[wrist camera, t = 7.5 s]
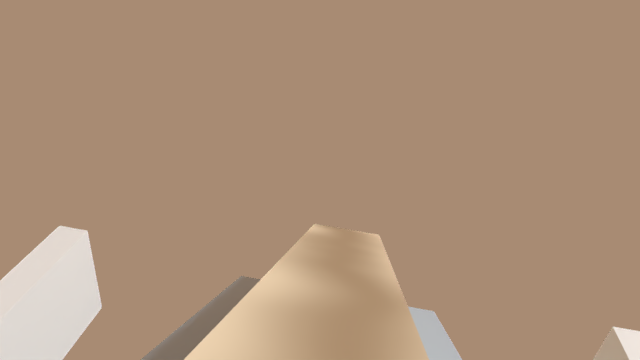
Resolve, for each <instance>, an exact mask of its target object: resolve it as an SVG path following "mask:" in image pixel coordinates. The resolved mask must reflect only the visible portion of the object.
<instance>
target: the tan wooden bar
mask: <svg viewBox="0 0 640 360" xmlns="http://www.w3.org/2000/svg"><path fill="white" fill-rule="evenodd" d="M184 360H429V358H428V356H427V353H426V351H425V348H424V346H423V343H422V341H421V338H420V336H419V333H418V331H417V328H416V326H415V323H414V321H413V318H412V316H411V313H410V311H409V308H408V306H407V303H406V301H405V298H404V296H403V293H402V291H401V289H400V286H399V283H398V281H397V278H396V276H395V274H394V271H393V269H392V266H391V263H390V261H389V258H388V256H387V253H386V251H385V249H384V246H383V244H382V241H381V239H380V236H379V235H377V234H371V233H365V232H360V231H354V230H348V229H342V228H336V227H330V226H325V225H319V224H314V225H313V226H312V227H311V228H310V229H309V230H308V231H307V232H306V233H305V234H304V235H303V236H302V237H301V238H300V240H298V242H297V243H296V244H295V245H294V246H293V247H292V248H291V249H290V250H289V251H288V252H287V253H286V254H285V255H284V256H283V257H282V258H281V259H280V260H279V261H278V262H277V263H276V264H275V265H274V266H273V267H272V268H271V269H270V271H269V272H268V273H267V274H266V275H265V276H264V277H263V278H262V279H261V280H260V281H259V282H258V283H257V284H256V285H255V286H254V287H253V288H252V289H251V290H250V291H249V292H248V293H247V294H246V295H245V296H244V298H243V299H242V300H241V301H240V302H239V303H238V304H237V305H236V306H235V307H234V308H233V309H232V310H231V311H230V312H229V313H228V314H227V315H226V316H225V317H224V318H223V319H222V320H221V321H220V322H219V324H218V325H217V326H216V327H215V328H214V329H213V330H212V331H211V332H210V333H209V334H208V335H207V336H206V337H205V338H204V339H203V340H202V341H201V342H200V343H199V344H198V345H197V346H196V347H195V348H194V349H193V351H192V352H191V353H190V354H189V355H188V356H187V357H186V358H185V359H184Z"/></svg>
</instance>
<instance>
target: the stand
mask: <svg viewBox="0 0 640 360" xmlns="http://www.w3.org/2000/svg"><path fill="white" fill-rule="evenodd" d="M259 281H260V279H254V278H249V277H244V276H241V277H240V278H239V279H237V280H236V281H235V282H233V283H232V284H231V285H230V286H229V287H228V288H226V289H225V290H224V291H223V292H221V293H220V294H219V295H218V296H217V297H215V298H214V299H213V300H212V301H211V302H209V303H208V304H207V305H206V306H205V307H203V308H202V309H201V310H200V311H199V312H197V313H196V314H195V315H194V316H193V317H191V318H190V319H189V320H188V321H187V322H185V323H184V324H183V325H182V326H180V327H179V328H178V329H177V330H176V331H174V333H172V334H171V335H170V336H169V337H167V338H166V339H165V340H164V341H163V342H161V343H160V344H159V345H158V346H156V347H155V348H154V349H153V350H152V351H151V352H149V353H148V354H147V355H146V356H144V357H143V358H142V359H141V360H184V359H185V358H186V357H187V356H188V355H189V354H190V353H191V352H192V351H193V349H194V348H195V347H196V346H197V345H198V344H199V343H200V342H201V341H202V340H203V339H204V338H205V337H206V336H207V335H208V334H209V333H210V332H211V331H212V330H213V329H214V328H215V327H216V326H217V325H218V324H219V322H220V321H221V320H222V319H223V318H224V317H225V316H226V315H227V314H228V313H229V312H230V311H231V310H232V309H233V308H234V307H235V306H236V305H237V304H238V303H239V302H240V301H241V300H242V299H243V298H244V296H245V295H246V294H247V293H248V292H249V291H250V290H251V289H252V288H253V287H254V286H255V285H256V284H257V283H258V282H259ZM408 308H409V311H410V313H411V316H412V318H413V321H414V323H415V326H416V328H417V331H418V333H419V336H420V338H421V341H422V343H423V346H424V348H425V351H426V353H427V356H428V358H429V360H462V359H461V357H460V355H459V354H458V352H457V350H456V348H455V347H454V345H453V343H452V341H451V340H450V338H449V336H448V335H447V333H446V331H445V330H444V328H443V326H442V324H441V323H440V321H439V319H438V318H437V316H436V314H435V313H434V311H429V310H424V309H418V308H413V307H408Z"/></svg>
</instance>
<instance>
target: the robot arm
mask: <svg viewBox="0 0 640 360" xmlns="http://www.w3.org/2000/svg"><path fill="white" fill-rule="evenodd" d="M101 308H102V305H101V300H100V295H99V290H98V284H97V279H96V274H95V269H94V263H93V258H92V253H91V247H90V242H89V237H88V231H86V230H80V229H75V228H69V227H64V226H59V227H58V228H57V229H56V230H54V231H53V232H52V233H51V234H50V235H49V236H48V237H47V238H46V239H45V240H43V241H42V242H41V243H40V244H39V245H38V246H37V247H36V248H35V249H34V250H33V251H32V252H31V253H29V254H28V255H27V256H26V257H25V258H24V259H23V260H22V261H21V262H20V263H19V264H18V265H17V266H15V268H13V269H12V270H11V271H10V272H9V273H8V274H7V275H6V276H5V277H4V278H2V279H1V280H0V360H62V359H63V358H64V357H65V355H66V354H67V353H68V351H69V350H70V349H71V348H72V346H73V345H74V344H75V342H76V341H77V340H78V338H79V337H80V336H81V334H82V333H83V332H84V330H85V329H86V328H87V326H88V325H89V324H90V322H91V321H92V319H93V318H94V317H95V316H96V314H97V313H98V312H99V310H100V309H101ZM593 360H640V332H639V331H634V330H628V329H622V328H617V327H612V329H611V330H610V332H609V334H608V335H607V337H606V339H605V340H604V342H603V344H602V345H601V347H600V349H599V351H598V352H597V354H596V355H595V357H594V359H593Z"/></svg>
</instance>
